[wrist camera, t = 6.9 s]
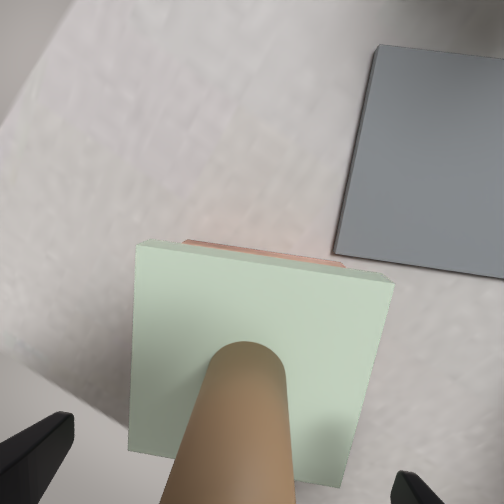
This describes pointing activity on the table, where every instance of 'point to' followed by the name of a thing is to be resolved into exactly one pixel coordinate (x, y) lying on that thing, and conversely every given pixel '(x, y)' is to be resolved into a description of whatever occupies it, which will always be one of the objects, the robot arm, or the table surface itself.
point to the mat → (429, 164)
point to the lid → (249, 369)
